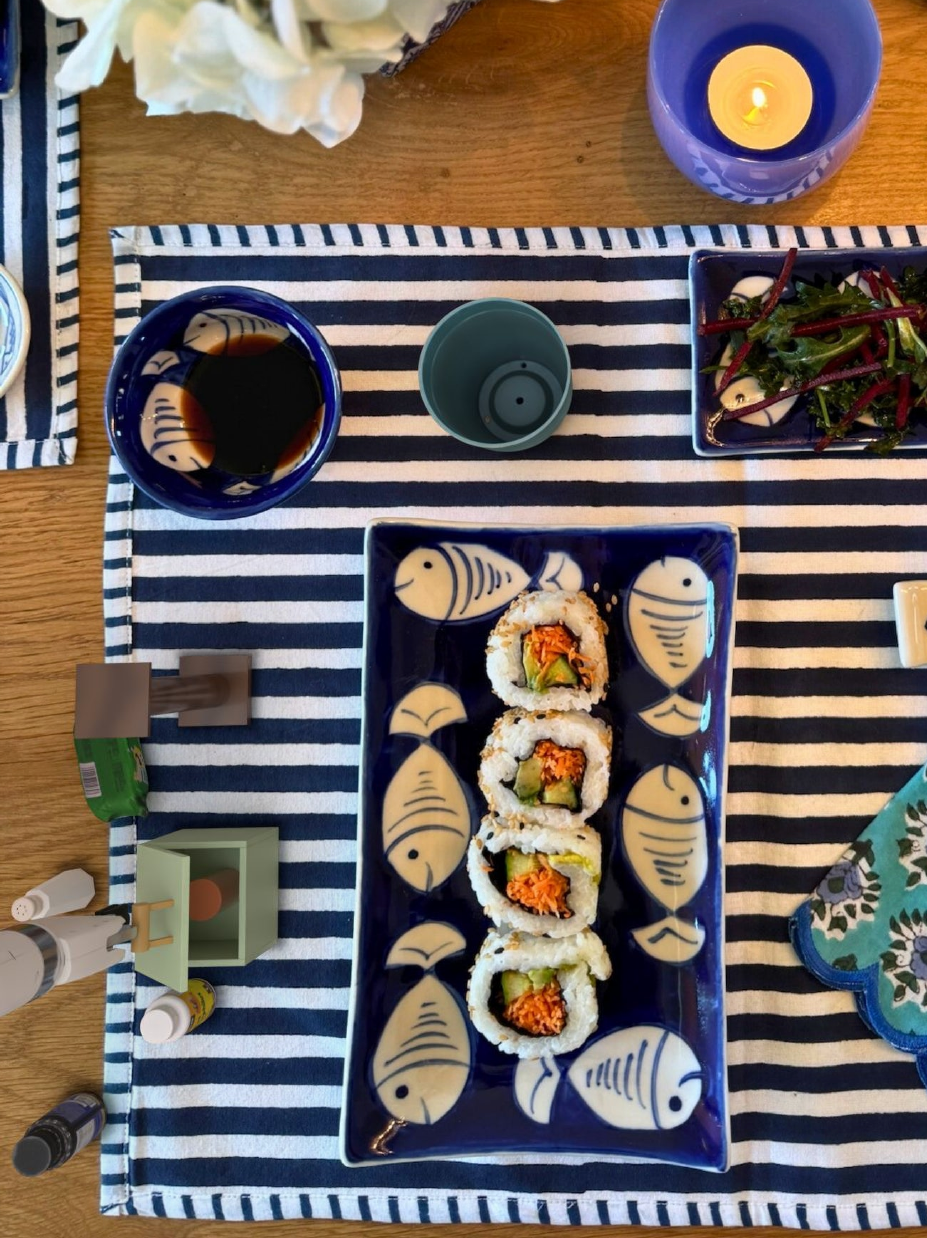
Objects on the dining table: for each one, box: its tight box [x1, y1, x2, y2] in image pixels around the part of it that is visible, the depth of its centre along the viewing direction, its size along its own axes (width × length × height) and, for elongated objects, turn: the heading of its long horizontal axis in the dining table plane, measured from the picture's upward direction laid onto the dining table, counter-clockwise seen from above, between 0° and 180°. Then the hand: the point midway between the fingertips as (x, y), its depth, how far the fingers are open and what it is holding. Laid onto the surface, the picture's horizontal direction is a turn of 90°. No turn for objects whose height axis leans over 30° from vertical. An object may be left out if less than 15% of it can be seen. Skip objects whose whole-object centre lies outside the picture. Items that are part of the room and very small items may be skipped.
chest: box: [143, 826, 280, 968], centre depth 135 cm, size 13×15×10 cm
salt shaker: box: [10, 868, 96, 923], centre depth 135 cm, size 5×5×11 cm
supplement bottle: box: [139, 977, 217, 1045], centre depth 133 cm, size 6×6×10 cm
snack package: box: [72, 722, 150, 824], centre depth 139 cm, size 7×16×5 cm, turn 15°
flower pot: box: [417, 296, 574, 453], centre depth 136 cm, size 18×18×17 cm
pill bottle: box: [11, 1091, 108, 1178], centre depth 132 cm, size 6×6×11 cm
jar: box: [189, 867, 240, 921], centre depth 135 cm, size 5×5×7 cm
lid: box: [130, 842, 190, 993], centre depth 123 cm, size 13×15×5 cm
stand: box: [73, 654, 253, 740], centre depth 130 cm, size 9×9×25 cm
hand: (120, 917), depth 124 cm, fingers closed
